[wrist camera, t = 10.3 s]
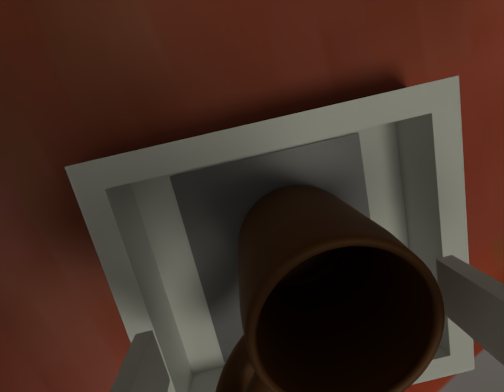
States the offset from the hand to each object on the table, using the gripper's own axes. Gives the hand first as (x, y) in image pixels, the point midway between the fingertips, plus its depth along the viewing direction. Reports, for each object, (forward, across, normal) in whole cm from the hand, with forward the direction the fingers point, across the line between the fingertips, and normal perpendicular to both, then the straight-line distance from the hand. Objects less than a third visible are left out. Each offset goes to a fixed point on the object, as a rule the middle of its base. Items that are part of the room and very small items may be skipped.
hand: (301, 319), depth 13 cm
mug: (+7, 0, 0) cm, 7 cm away
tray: (+8, +1, 0) cm, 8 cm away
